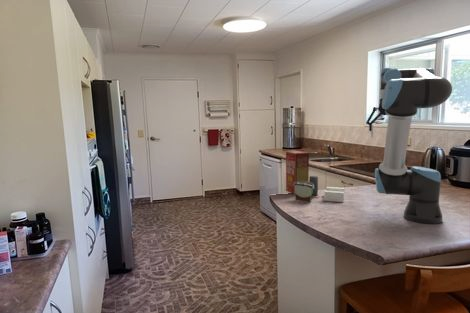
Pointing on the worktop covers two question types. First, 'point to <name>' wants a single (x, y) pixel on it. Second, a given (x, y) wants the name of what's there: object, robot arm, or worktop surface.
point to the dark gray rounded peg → (315, 182)
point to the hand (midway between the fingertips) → (385, 137)
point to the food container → (303, 191)
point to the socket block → (334, 194)
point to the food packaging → (296, 168)
